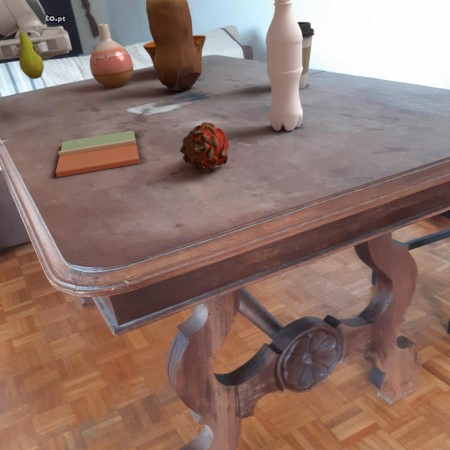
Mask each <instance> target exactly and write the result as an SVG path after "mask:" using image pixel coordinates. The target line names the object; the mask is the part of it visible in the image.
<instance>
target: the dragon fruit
mask: <svg viewBox="0 0 450 450" xmlns="http://www.w3.org/2000/svg"><path fill="white" fill-rule="evenodd" d="M229 147H230V146H229V139H228V137H227V133H226V132H225V131H224V129H222V128H220V127H218V128H217V127H216V126H215V125H214V123H212V122H208V121H204V122H203V121H202V122H201V124H198V125H196V126H195V127H193V128H192V129H191V130H190V132H189V133H187V135H186V136H185V137H184V138H183V139H182V146H181V147H180V150H179V152H180V153H181V154H183V156H182V160H183V162H185V163H186V164H189V165H190V166H192V167H194V168H195V169H199V170H200V171H204V172H209V173H210V172H212V171H214V170H215V168H216V166H218V167H221V166H222V165H224V166H225V165H226V164H227V162H228V158H229V157H228V151H229ZM203 167H204V168H203Z"/></svg>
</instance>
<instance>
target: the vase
mask: <svg viewBox="0 0 450 450" xmlns="http://www.w3.org/2000/svg"><path fill="white" fill-rule="evenodd" d="M97 29H98V34H99V39H100V40H99V42H98V43H97V45H96V46H95V47H94V48H93V50H92V52H91V54H90V57H89V70H90V74H91V75H92V77H93V79H94V80H95V81H96V82H97V83H99V84H101V85H102V86H103V87H105V88H109V89H114V88H120V87H123V86H126V85H127V84H128V81H129V80H131V78H132V76H133V73H134V63H133V59H132V57H131V55H130V53H129V51H128V50H127V49H126V48H125V47H124V46H123V45H121V44H120V43H119V42H117V41H115V40H113V39H112V36H111V33H110V28H109V24H108V23H99V24H97Z"/></svg>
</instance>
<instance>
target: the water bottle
mask: <svg viewBox="0 0 450 450" xmlns="http://www.w3.org/2000/svg"><path fill="white" fill-rule="evenodd" d="M273 1H274V3H273V6H274V12H273V17H272V19H271V21H270V24H269V27H268V29H267V31H266V36H265V47H266V73H267V75H268V76H267V77H268V79H269V83H270V91H271V98H270V99H271V100H270V106H269V107H270V108H269V111H268V120H269V122H270V125H271V128H273V130H274V131H278V132H279V131H281V129H282V128H283V127H284V129H285V131H287V132H291V131H293V130H294V129H295V128H299V127H300V126H301V124H302V121H303V115H304V110H303V107H302V103H301V100H300V99H301V98H300V89H299V81H300V76H301V73H302V71H303V67H302V41H303V37H302V32H301V29H300V27H299V25H298V23H297V22H298V20H297V19H296V17H295V15H294V11H293V5H292V4H294V1H292V0H273Z"/></svg>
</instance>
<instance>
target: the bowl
mask: <svg viewBox="0 0 450 450" xmlns="http://www.w3.org/2000/svg"><path fill="white" fill-rule="evenodd" d="M206 39H207V36H206V35H201V34H200V35H199V34H198V35H197V34H196V35H195V34H194V35H193V42H194V45H195V48H196V50H197V52H198V54H199V56H200V60H201V62H202V61H203V50H204V49H203V48H204V45H205V42H206ZM142 47H143V49H144V51H146V53H147V55H148V56H149V57H150V60H151V63H152V65H153V69H155V66H154V60H155V52H156V47H155V43H154V40H153V41H149V42H146V43H145V44H143V46H142Z"/></svg>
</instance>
